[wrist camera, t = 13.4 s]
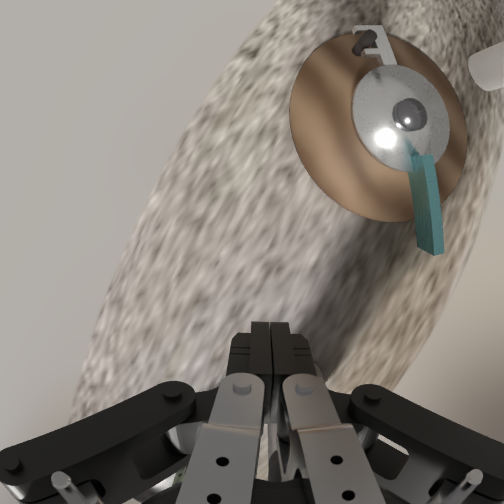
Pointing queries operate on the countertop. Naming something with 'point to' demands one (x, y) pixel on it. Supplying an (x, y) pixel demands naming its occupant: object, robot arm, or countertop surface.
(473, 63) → the cylindrical container
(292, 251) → the countertop surface
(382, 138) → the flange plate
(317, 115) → the base plate
